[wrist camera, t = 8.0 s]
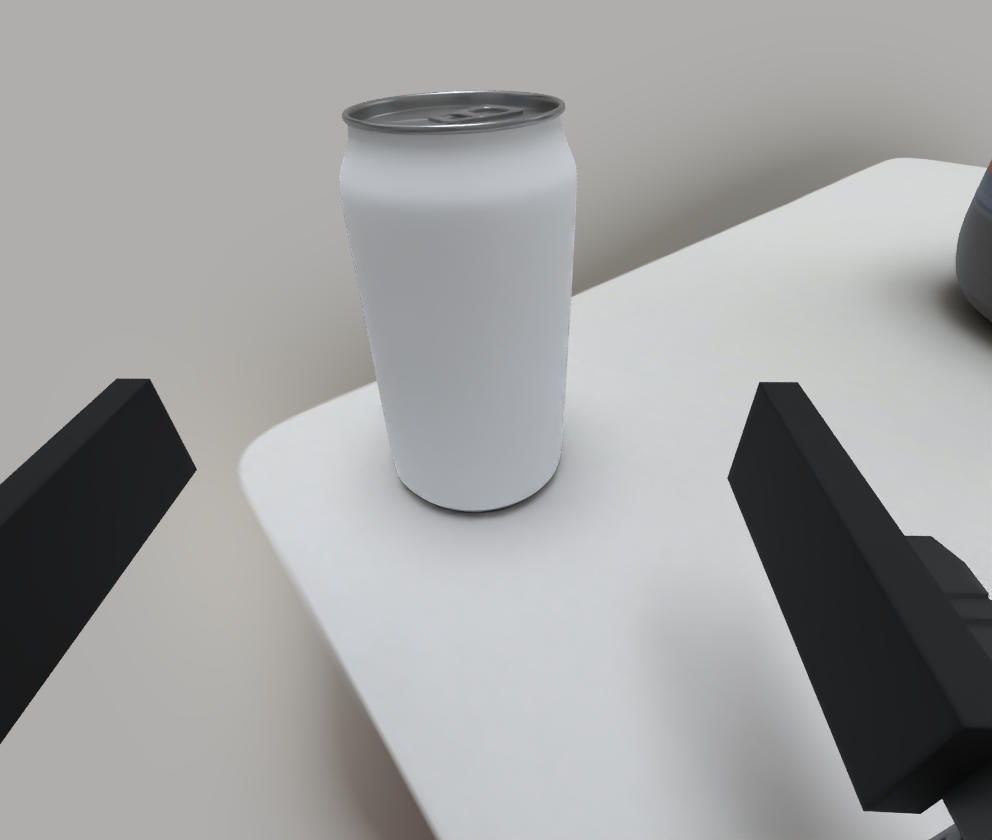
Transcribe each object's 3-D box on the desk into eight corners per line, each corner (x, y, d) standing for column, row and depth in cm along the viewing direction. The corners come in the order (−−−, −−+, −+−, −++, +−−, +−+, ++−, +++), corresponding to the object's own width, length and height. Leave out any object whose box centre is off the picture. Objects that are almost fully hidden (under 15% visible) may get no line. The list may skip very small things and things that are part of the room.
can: (364, 453, 21) (280, 109, 14) (488, 389, 24) (473, 82, 17) (463, 551, 17) (420, 143, 10) (595, 460, 21) (637, 100, 13)
